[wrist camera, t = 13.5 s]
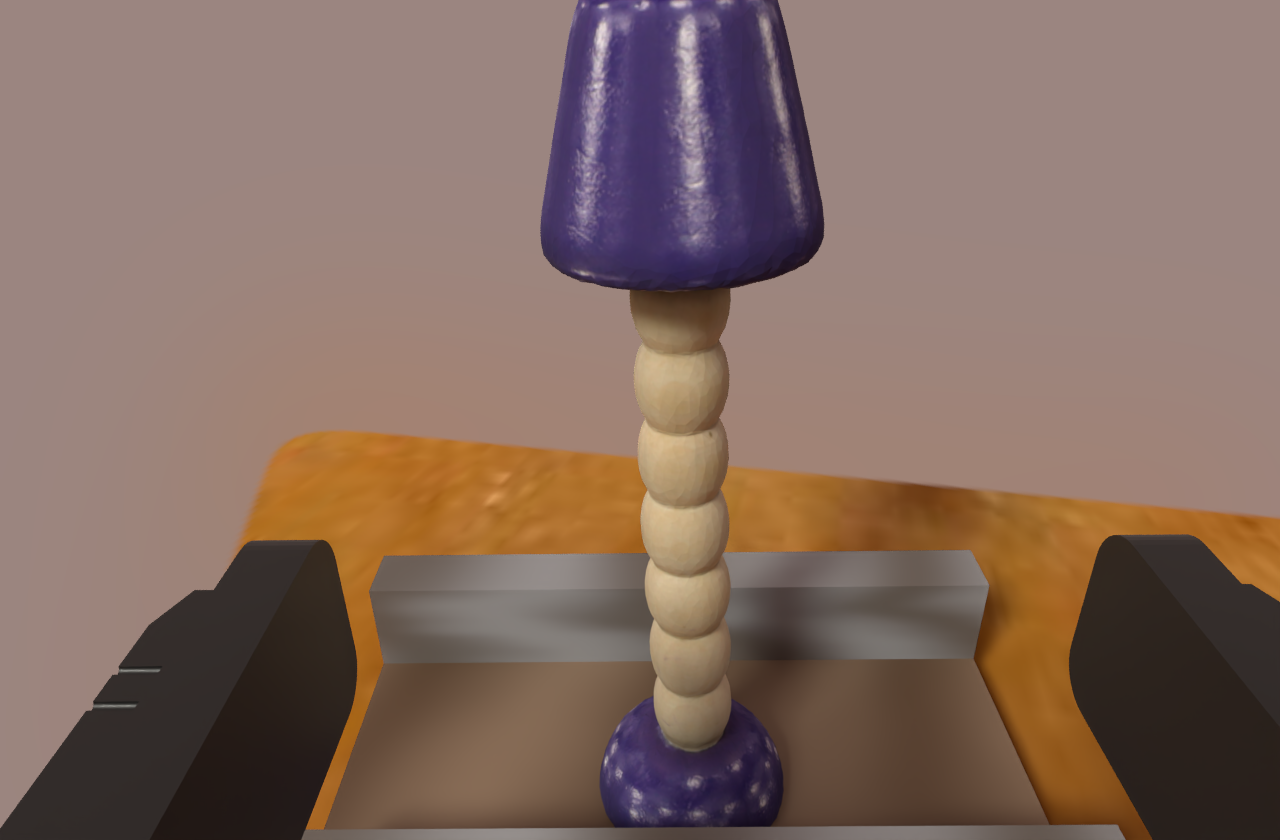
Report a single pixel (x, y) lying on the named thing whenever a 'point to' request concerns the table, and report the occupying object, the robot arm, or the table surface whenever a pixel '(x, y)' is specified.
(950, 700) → the track board
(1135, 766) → the robot arm
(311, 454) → the table surface
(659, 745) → the toy lamp
